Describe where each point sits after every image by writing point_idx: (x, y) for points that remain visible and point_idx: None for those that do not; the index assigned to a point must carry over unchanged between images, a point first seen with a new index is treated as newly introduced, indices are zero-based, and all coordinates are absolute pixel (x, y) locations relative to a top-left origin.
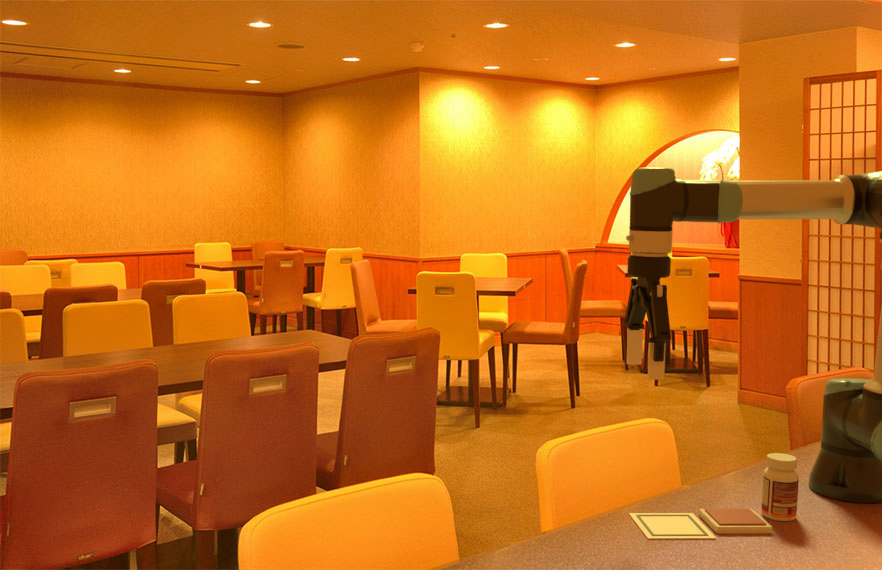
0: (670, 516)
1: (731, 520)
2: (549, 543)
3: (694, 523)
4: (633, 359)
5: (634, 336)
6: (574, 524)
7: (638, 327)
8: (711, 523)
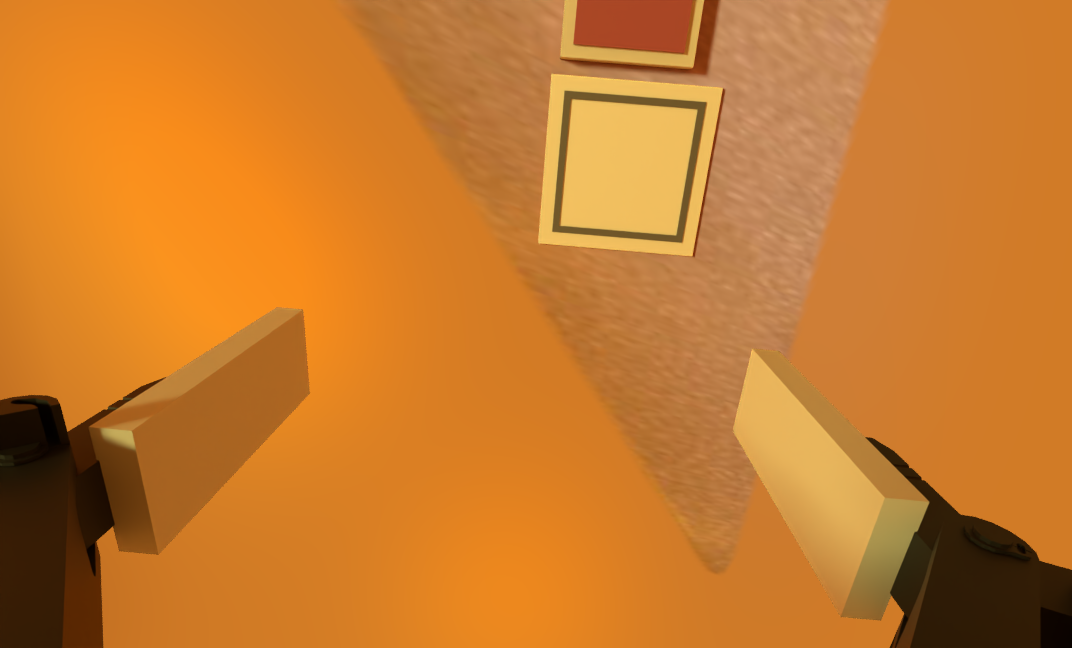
0: (569, 146)
1: (668, 4)
2: (674, 448)
3: (625, 103)
4: (292, 374)
5: (188, 467)
6: (585, 377)
7: (75, 475)
8: (653, 64)
